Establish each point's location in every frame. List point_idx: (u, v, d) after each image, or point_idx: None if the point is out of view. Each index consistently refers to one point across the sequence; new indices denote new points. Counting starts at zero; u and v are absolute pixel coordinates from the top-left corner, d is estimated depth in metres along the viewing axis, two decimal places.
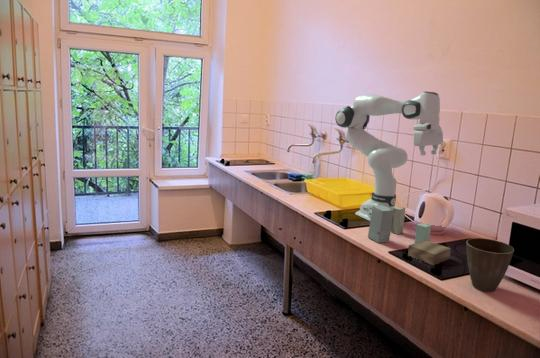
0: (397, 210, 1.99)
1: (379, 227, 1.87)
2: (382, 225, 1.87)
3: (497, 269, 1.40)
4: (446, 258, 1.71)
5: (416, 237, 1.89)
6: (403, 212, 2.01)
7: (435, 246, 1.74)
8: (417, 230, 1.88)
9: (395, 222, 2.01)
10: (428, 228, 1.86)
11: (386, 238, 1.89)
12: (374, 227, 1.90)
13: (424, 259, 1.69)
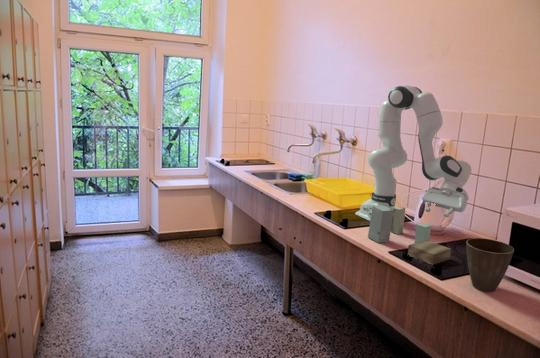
0: (397, 210, 1.99)
1: (379, 227, 1.87)
2: (382, 225, 1.87)
3: (497, 269, 1.40)
4: (446, 258, 1.71)
5: (416, 237, 1.89)
6: (403, 212, 2.01)
7: (436, 246, 1.74)
8: (417, 230, 1.88)
9: (395, 222, 2.01)
10: (428, 228, 1.86)
11: (386, 238, 1.89)
12: (374, 227, 1.90)
13: (423, 259, 1.69)
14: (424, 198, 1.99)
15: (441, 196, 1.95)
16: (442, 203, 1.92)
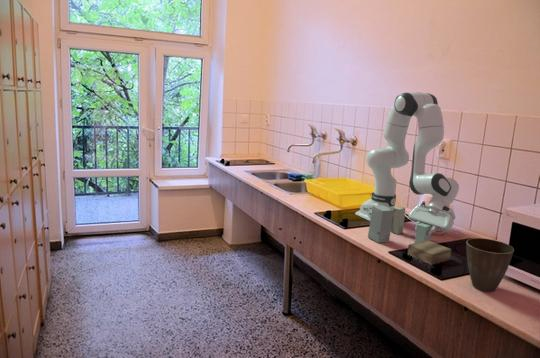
0: (397, 210, 1.99)
1: (379, 227, 1.87)
2: (382, 225, 1.87)
3: (497, 269, 1.40)
4: (446, 259, 1.71)
5: (416, 237, 1.89)
6: (403, 212, 2.01)
7: (436, 246, 1.74)
8: (417, 230, 1.88)
9: (395, 222, 2.01)
10: (428, 228, 1.86)
11: (386, 238, 1.89)
12: (374, 227, 1.90)
13: (423, 259, 1.69)
14: (410, 216, 1.95)
15: (427, 215, 1.90)
16: (428, 222, 1.88)
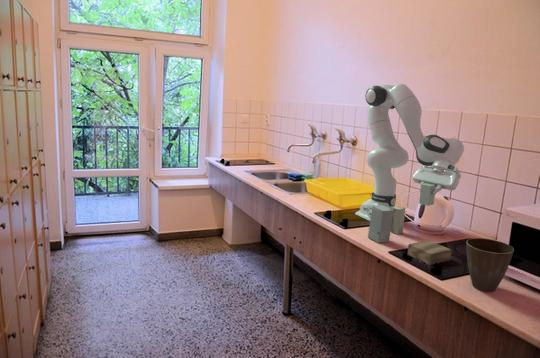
0: (397, 210, 1.99)
1: (379, 227, 1.87)
2: (382, 225, 1.87)
3: (497, 269, 1.40)
4: (446, 259, 1.70)
5: (420, 197, 1.85)
6: (403, 212, 2.01)
7: (436, 246, 1.74)
8: (422, 190, 1.84)
9: (395, 222, 2.01)
10: (433, 187, 1.82)
11: (386, 238, 1.89)
12: (374, 227, 1.90)
13: (422, 258, 1.69)
14: (415, 177, 1.91)
15: (432, 175, 1.86)
16: (433, 181, 1.83)
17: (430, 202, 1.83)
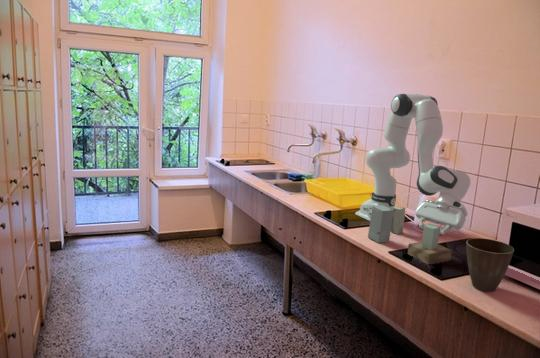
0: (397, 210, 1.99)
1: (379, 227, 1.87)
2: (382, 225, 1.87)
3: (497, 269, 1.40)
4: (445, 259, 1.70)
5: (423, 240, 1.72)
6: (403, 212, 2.01)
7: None
8: (424, 232, 1.71)
9: (395, 222, 2.01)
10: (436, 230, 1.70)
11: (386, 238, 1.89)
12: (374, 227, 1.90)
13: (421, 258, 1.70)
14: (417, 212, 1.78)
15: (436, 211, 1.73)
16: (437, 219, 1.71)
17: (433, 245, 1.70)
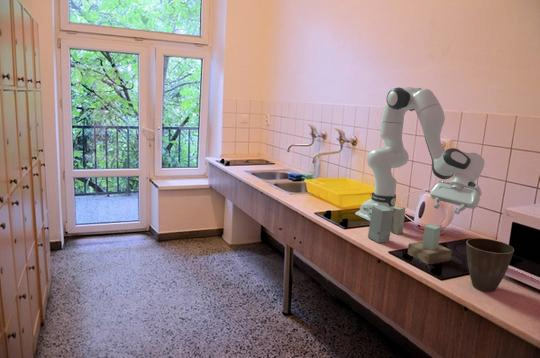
0: (397, 210, 1.99)
1: (379, 227, 1.87)
2: (382, 225, 1.87)
3: (497, 269, 1.40)
4: (445, 259, 1.70)
5: (424, 240, 1.72)
6: (403, 212, 2.01)
7: None
8: (425, 232, 1.71)
9: (395, 222, 2.01)
10: (437, 230, 1.70)
11: (386, 238, 1.89)
12: (374, 227, 1.90)
13: (420, 258, 1.70)
14: (432, 193, 1.83)
15: (451, 191, 1.78)
16: (452, 199, 1.75)
17: (434, 245, 1.70)
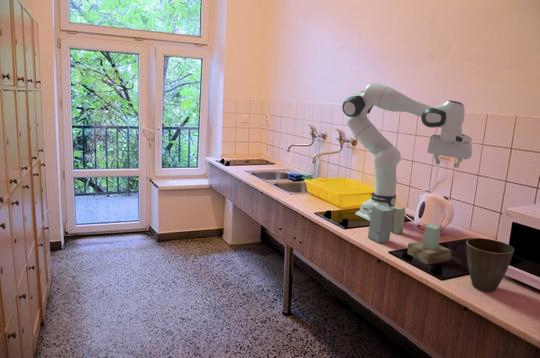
0: (397, 210, 1.99)
1: (379, 227, 1.87)
2: (382, 225, 1.87)
3: (497, 269, 1.40)
4: (445, 259, 1.70)
5: (424, 240, 1.72)
6: (403, 212, 2.01)
7: None
8: (426, 232, 1.71)
9: (395, 222, 2.01)
10: (438, 230, 1.70)
11: (386, 238, 1.89)
12: (374, 227, 1.90)
13: (420, 258, 1.70)
14: (430, 151, 1.98)
15: (445, 147, 1.92)
16: (448, 155, 1.91)
17: (435, 245, 1.70)
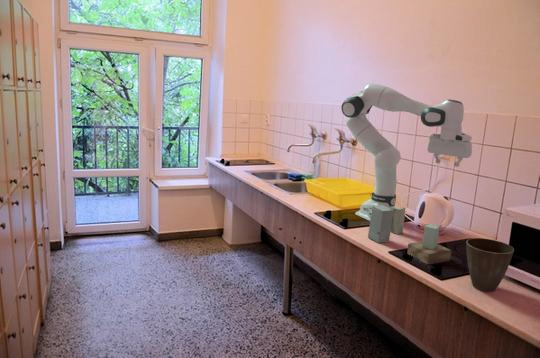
0: (397, 210, 1.99)
1: (379, 227, 1.87)
2: (382, 225, 1.87)
3: (497, 269, 1.40)
4: (445, 259, 1.70)
5: (424, 240, 1.72)
6: (403, 212, 2.01)
7: None
8: (425, 232, 1.71)
9: (395, 222, 2.01)
10: (437, 230, 1.70)
11: (386, 238, 1.89)
12: (374, 227, 1.90)
13: (420, 258, 1.70)
14: (430, 151, 1.98)
15: (445, 146, 1.92)
16: (448, 154, 1.91)
17: (434, 245, 1.71)
